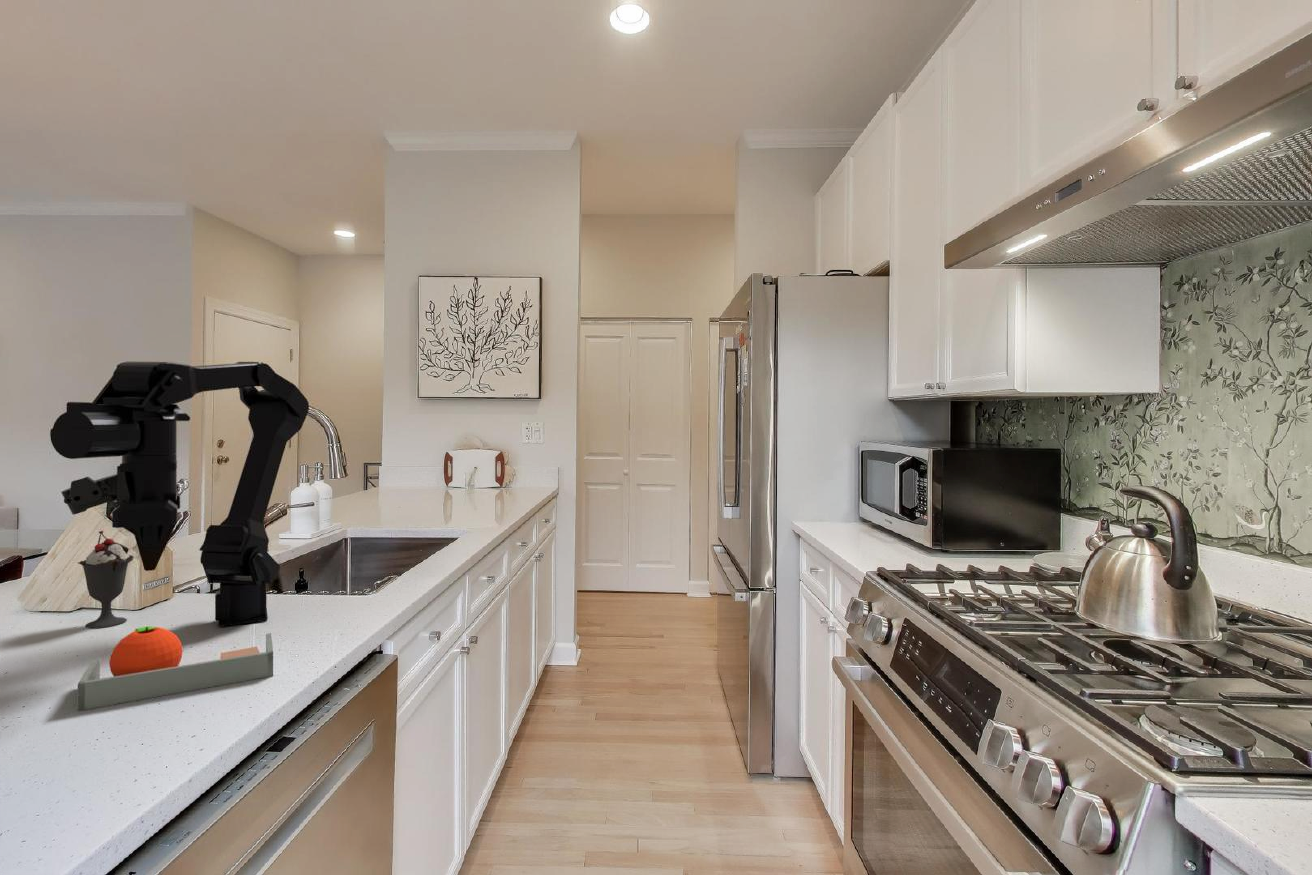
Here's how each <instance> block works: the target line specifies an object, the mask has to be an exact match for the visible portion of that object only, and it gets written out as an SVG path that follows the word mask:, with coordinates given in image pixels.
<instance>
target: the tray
mask: <svg viewBox="0 0 1312 875" xmlns="http://www.w3.org/2000/svg"><path fill="white" fill-rule="evenodd" d="M273 648H274V647H273V637H272V632H269V633H265V652H259V653H257V654H251V655H245V656H239V657H232V658H226V659H221V658H219V659H214V660H208V661H203V662H202V661H201V662H195V663H191V664H189V663H188V664H182V665H178V666H176V667H170V668H164V669H157V670H151V671H145V672H139V673H133V674H126V675H120V676H110V677H109V676H108V677H103V678H101V668H100V666H101V657H100V658H99V657H98V658H93V659H92V661H91V662H90V663H89V666H88V667H87V668H86V670H85V671H84V673H83V675H82V677H80V680H79V681H78V683H77V711H79V712H80V711H83V710H89V709H90V710H91V709H95V708H101V707H107V706H112V705H117V704H122V703H129V702H134V701H139V700H140V701H141V700H145V699H151V698H157V697H162V696H167V695H173V694H177V693H179V694H180V693H184V692H190V691H195V690H201V689H205V688H213V687H218V686H223V685H228V684H234V683H240V682H245V681H246V682H247V681H250V680H257V679H262V678H268V677H273V676H274V649H273Z"/></svg>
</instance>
